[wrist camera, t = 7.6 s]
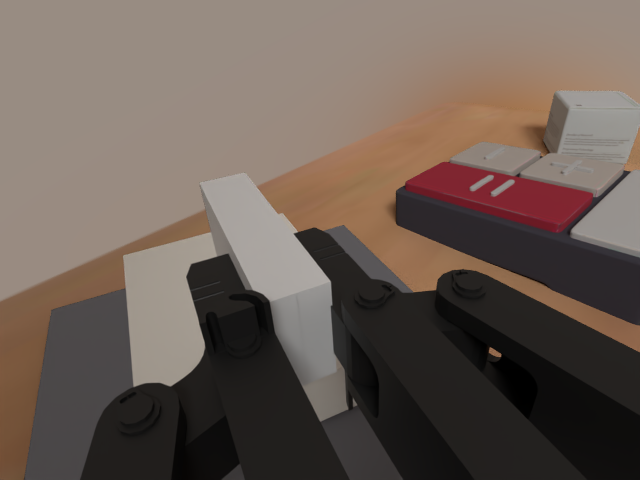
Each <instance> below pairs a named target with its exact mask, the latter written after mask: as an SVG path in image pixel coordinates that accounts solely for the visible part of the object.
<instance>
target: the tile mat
mask: <svg viewBox="0 0 640 480" xmlns="http://www.w3.org/2000/svg"><path fill="white" fill-rule="evenodd" d="M324 232H326V233H328V234H330V235H331V236H332V237H333V238H334V240H335V241H336V242H337V243H338V245H340V246H341V247H342V248H343V249H344V250H345V253H348V255H349V256H350V257H351V258H352V259H353V260H354V261H355V262H356V263H357V264H358V265H359V266H360V267H361V268H362V270H363V271H364V272H365V273H366V274H367V275H368V276H369V277H370V278H371V279H380V280H383V281H386V282H389V283H391V284H393V285H394V286H395V287H397V288H398V289H399V290H400V291H401V292H402V293H413V291H412V290H410V289H409V288H408V287H407V286H406V285H405V284H404V283H403V282H402V281H401V280H400V279H399V278H398V277H397V276H396V275H395V274H394V273H393V272H392V271H391V270H390V269H389V268H388V267H387V266H386V265H385V264H383V263H382V262H381V261H380V260H379V259H378V258H377V257H376V256H375V255H374V254H373V253H372V252H371V251H370V250H369V249H368V248H367V247H366V246H365V245H364V244H363V243H362V242H361V241H360V240H359V239H358V238H356V237H355V236H354V235H353V234H352V233H351V232H350V231H349V230H348V229H347V228H346V227H345V226H344V225H342V226H339V227H335V228H332V229H328V230H325V231H324ZM132 387H134V386H133V373H132V360H131V348H130V335H129V322H128V310H127V297H126V288H125V289H122V290H118V291H115V292H111V293H108V294H104V295H101V296H97V297H94V298H91V299H87V300H84V301H80V302H77V303H73V304H70V305H66V306H63V307H60V308H56V309H53V310H51V316H50V322H49V329H48V335H47V341H46V347H45V353H44V360H43V366H42V372H41V378H40V385H39V391H38V397H37V403H36V409H35V416H34V422H33V428H32V434H31V440H30V447H29V453H28V459H27V465H26V472H25V478H24V480H80V478H81V475H82V471H83V468H84V465H85V461H86V458H87V455H88V451H89V448H90V445H91V441H92V438H93V435H94V431H95V428H96V425H97V422H98V420H99V418H100V416H101V414H102V412H103V410H104V409H105V408H106V407H107V406H108V405H109V404H110V403H111V402H112V401H113V400H114V399H115V397H117V396H118V395H120V394H122V393H123V392H125V391H126V390H128V389H130V388H132ZM321 424H322V426H323V428H324V430H325V432H326V434H327V436H328V438H329V440H330V442H331V444H332V446H333V448H334V450H335V452H336V454H337V456H338V458H339V459H340V461H341V463H342V465H343V467H344V469H345V471H346V473H347V475H348V477H349V479H350V480H403V479H402V477H401V476H400V474H399V472H398V471H397V469H396V467H395V466H394V464H393V462H392V461H391V459H390V458H389V456H388V454H387V453H386V451H385V449H384V448H383V446H382V444H381V443H380V441H379V440H378V438H377V436H376V435H375V433H374V431H373V430H372V428H371V426H370V425H369V423H368V422H367V420H366V418H365V417H364V415H363V413H362V412H361V410H360V408H359V407H358V405H357V406H354V407H353V409H352V410H350V411H349V409H348V410H345V411H343V412H341V413H339V414H337V415H334V416H332V417H330V418H328V419H325V420H323V421H321ZM222 480H245V478H244V475H243V472H242V468H241V465H240V464H239V465H238V466H237V467H235V468H234V469H233V470H232V471H231V472H230V473H229V474H227V475H226V476H225V477H224V478H223V479H222Z"/></svg>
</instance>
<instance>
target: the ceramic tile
mask: <svg viewBox="0 0 640 480" xmlns="http://www.w3.org/2000/svg"><path fill="white" fill-rule="evenodd" d="M278 215H279V216H280V218H281V219H282V220H283V221H284V223H285V224H286V225H287V226H288V228H289V229H290V230H291V232H292V233H293V234H294V233H297V232H298V231H297V230H296V229H295V228H294V226H293V225H292V224H291V223H290V222H289V220H288V219H287V218H286V217H285V215H284V214H283V213H281V214H278ZM214 257H217V254H216V251H215V246H214V242H213V238H212V234H211V232H210V233H206V234H202V235H198V236H195V237H191V238H187V239H183V240H180V241H176V242H172V243H168V244H165V245H161V246H157V247H153V248H150V249H146V250H142V251H138V252H135V253H131V254H127V255H123V259H124V272H125V284H126V297H127V310H128V322H129V335H130V348H131V360H132V373H133V386H134V387H135V386H138V385H141V384H144V383H162V384H165V385H168V386H172V385H173V384H175V383H176V382H178V381H179V380H181V379H182V378H184V377H185V376H186V375H188V374H189V373H190V372H191V371H192V370H193V369H194V368H195V367H196V366H197V365H198V364H199V362H200V360H201V358H202V356H203V354H204V350H205V342H204V339H203V335H202V332H201V329H200V325H199V320H198V317H197V313H196V310H195V306H194V303H193V299H192V296H191V292H190V289H189V286H188V282H187V279H186V276H187V273H188V271H189V268H190V265H191V264H193V263H196V262H200V261H203V260H207V259H210V258H214ZM336 369H337V372H335V373H333V374H330V375H328V376H325V377H323V378H321V379H318V380H316V381H313V382H311V383H308V384H306V385H303V386H302V387H303V389H304V391H305V393H306V395H307V397H308V399H309V400H310V402H311V404H312V406H313V408H314V410H315V412H316V414H317V416H318V418H319V420H320V422H321V421H323V420H325V419H328V418H330V417H332V416H334V415H337V414H339V413H341V412H343V411H345V410H348V406H347V403H346V388H345V370H344V368H343V366H342V365H341V363H340V362H339V360H338V359H337V357H336ZM354 406H357V404H356V402H355V400H354V399H353V407H354Z"/></svg>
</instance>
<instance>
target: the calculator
mask: <svg viewBox="0 0 640 480" xmlns="http://www.w3.org/2000/svg"><path fill="white" fill-rule="evenodd" d="M540 154H541V152H540V151H537V150H531V149H525V148H519V147H513V146H507V145H501V144H495V143H488V142H480V143H478V144H476V145H474V146H472V147H470V148H468V149H467V150H465V151H463V152H461V153H459V154H457V155H455V156H453V157H451V158H450V162H442V163H440V164H438V165H436V166H434V167H432V168H431V169H429V170H427V171H425V172H423V173H421V174H419V175H417V176H415V177H413V178H412V179H410V180H408V181H406V182H405V186H403V187H401V188H399V189H398V190H397V191H396V224H397V225H398V226H400V227H403V228H405V229H408V230H410V231H412V232H415V233H417V234H420V235H422V236H424V237H427V238H429V239H431V240H434V241H436V242H439V243H441V244H443V245H446V246H448V247H451V248H453V249H455V250H458V251H460V252H463V253H465V254H468V255H470V256H473V257H475V258H478V259H480V260H483V261H486V262H488V263H491V264H494V265H496V266H499V267H502V268H505V269H507V270H510V271H513V272H515V273H518V274H521V275H524V276H526V277H529V278H532V279H534V280H537V281H540V282H542V283H544V284H546V285H547V286H548V287H549V288H550V289H551V290H553V291H556V292H558V293H560V294H563V295H565V296H567V297H570V298H572V299H575V300H577V301H579V302H582V303H584V304H587V305H589V306H591V307H594V308H596V309H598V310H601V311H603V312H606V313H608V314H610V315H613V316H615V317H618V318H620V319H622V320H625V321H627V322H630V323H632V324H635V325H640V170H633V171H632V172H630V171H624V167H625V166H624V165H623V164H618V163H612V162H605V161H599V160H593V159H587V158H581V157H575V156H569V155H562V154H556V153H549V154H547V155H545V156H544V157H542V156H540Z"/></svg>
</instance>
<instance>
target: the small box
mask: <svg viewBox="0 0 640 480" xmlns="http://www.w3.org/2000/svg"><path fill="white" fill-rule="evenodd" d="M639 126H640V104H638V103H637V102H636V101H634V100H633V99H631V98H630V97H629V96H627V95H626V94H625V93H624V92H621V91H556V92H555V93H554V97H553V102H552V105H551V110H550V114H549V118H548V122H547V126H546V131H545V135H544V139H543V141H544V143H545V145H546V146H547V148H548V150H549V152H550V153H556V154H562V155H569V156H575V157H581V158H587V159H593V160H599V161H605V162H612V163H618V164H626V163H627V160H628V158H629V155H630V152H631V149H632V146H633V143H634V140H635V138H636V135H637V132H638V129H639Z"/></svg>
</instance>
